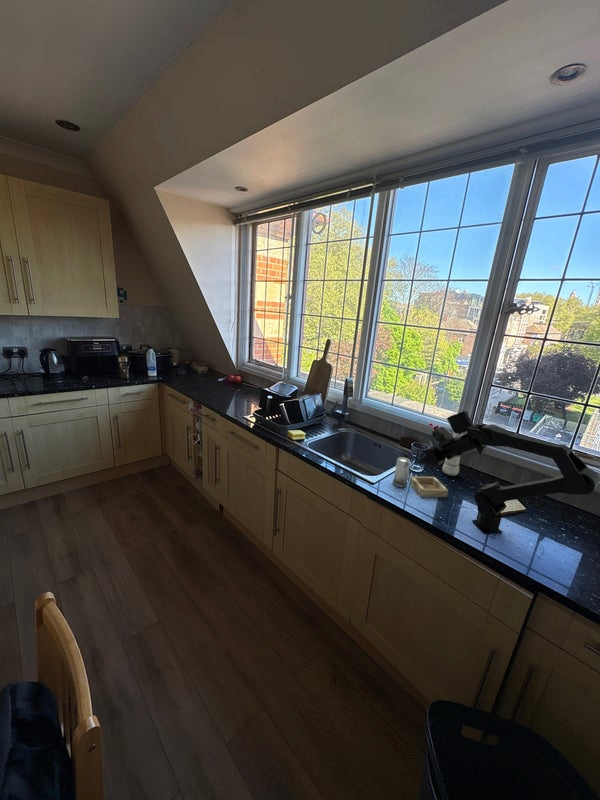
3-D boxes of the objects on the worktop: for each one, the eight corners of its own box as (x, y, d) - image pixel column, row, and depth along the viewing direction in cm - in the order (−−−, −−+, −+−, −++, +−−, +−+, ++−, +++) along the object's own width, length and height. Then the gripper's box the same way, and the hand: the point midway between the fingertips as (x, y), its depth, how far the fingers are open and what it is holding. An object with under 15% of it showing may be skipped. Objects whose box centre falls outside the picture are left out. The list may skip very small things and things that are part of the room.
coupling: (409, 489, 128) (414, 463, 125) (396, 488, 127) (400, 463, 124) (402, 480, 134) (406, 456, 131) (389, 480, 134) (393, 455, 131)
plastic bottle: (459, 478, 139) (469, 435, 134) (443, 476, 140) (452, 433, 135) (455, 471, 145) (464, 430, 140) (439, 469, 146) (448, 428, 141)
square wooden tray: (446, 497, 124) (448, 490, 123) (421, 497, 123) (422, 490, 122) (433, 483, 134) (434, 476, 133) (409, 482, 132) (410, 476, 132)
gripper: (462, 419, 118) (428, 435, 130) (436, 428, 107) (401, 444, 118) (478, 447, 115) (442, 461, 127) (453, 459, 104) (415, 473, 115)
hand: (425, 459), depth 122 cm, fingers open, 9 cm apart
